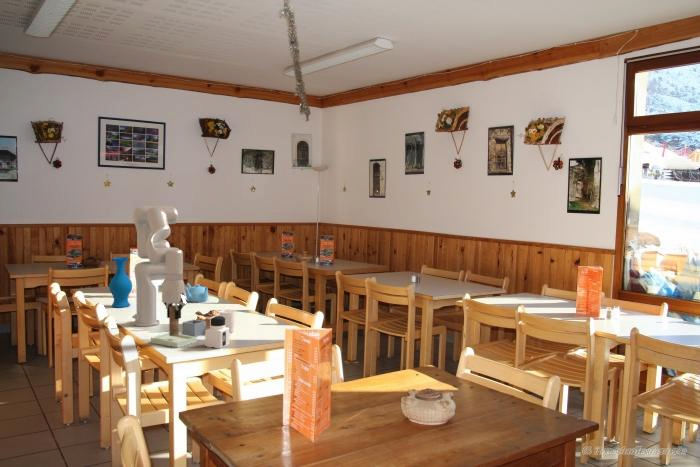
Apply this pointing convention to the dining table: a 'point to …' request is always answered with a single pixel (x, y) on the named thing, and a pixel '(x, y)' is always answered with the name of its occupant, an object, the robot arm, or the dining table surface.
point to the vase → (120, 284)
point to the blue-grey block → (194, 328)
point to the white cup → (229, 318)
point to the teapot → (197, 293)
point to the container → (217, 333)
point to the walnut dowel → (173, 322)
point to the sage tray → (173, 340)
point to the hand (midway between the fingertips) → (174, 317)
